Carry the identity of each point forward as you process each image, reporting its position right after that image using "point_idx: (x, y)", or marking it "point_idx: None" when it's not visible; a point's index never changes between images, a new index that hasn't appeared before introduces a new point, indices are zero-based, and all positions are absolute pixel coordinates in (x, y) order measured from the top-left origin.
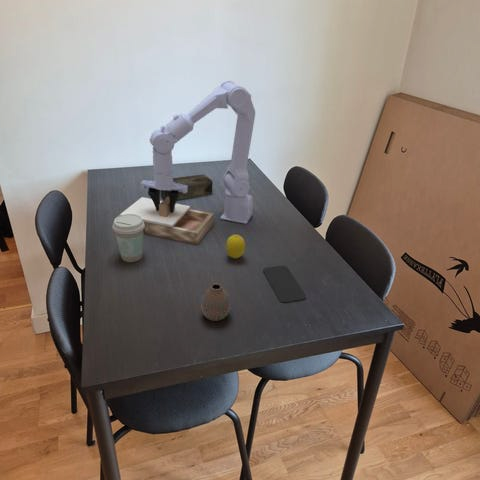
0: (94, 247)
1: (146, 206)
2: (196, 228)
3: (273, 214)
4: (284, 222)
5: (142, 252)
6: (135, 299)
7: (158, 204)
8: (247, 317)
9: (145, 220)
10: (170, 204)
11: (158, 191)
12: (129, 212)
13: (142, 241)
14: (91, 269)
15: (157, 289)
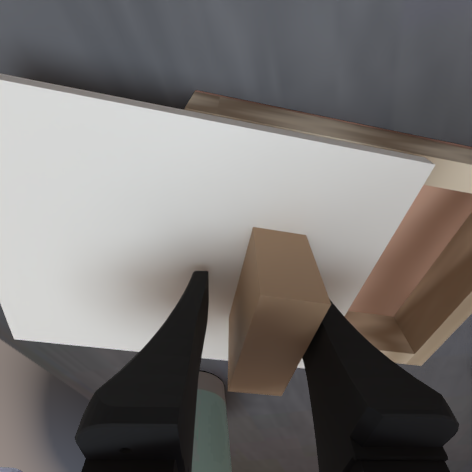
0: (62, 372)
1: (89, 235)
2: (410, 244)
3: None
4: None
5: (224, 396)
6: (258, 455)
7: (203, 323)
8: (457, 458)
9: None
10: (308, 372)
11: (187, 415)
12: (43, 315)
13: (229, 449)
14: None
15: (293, 440)
